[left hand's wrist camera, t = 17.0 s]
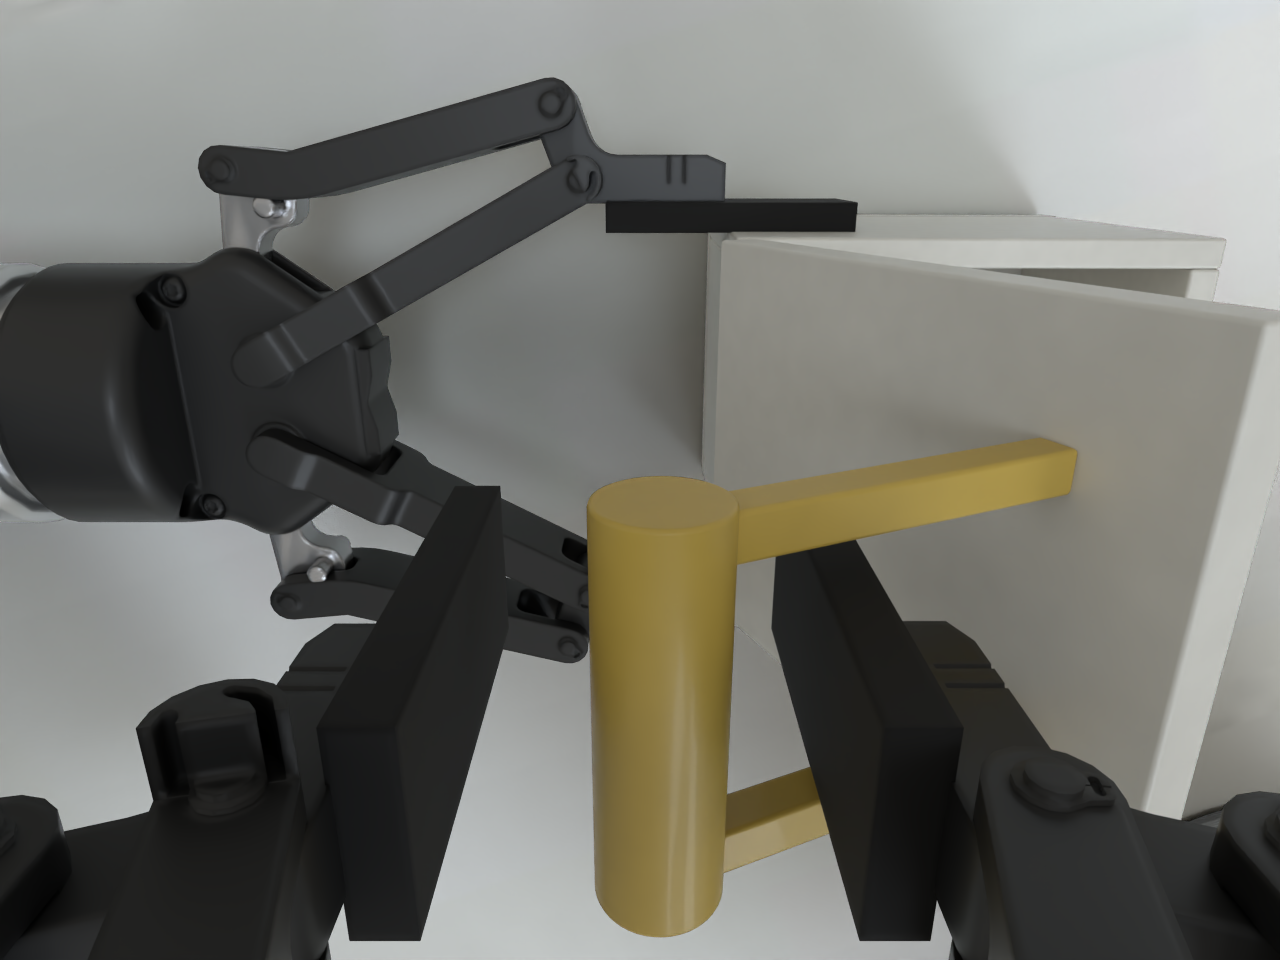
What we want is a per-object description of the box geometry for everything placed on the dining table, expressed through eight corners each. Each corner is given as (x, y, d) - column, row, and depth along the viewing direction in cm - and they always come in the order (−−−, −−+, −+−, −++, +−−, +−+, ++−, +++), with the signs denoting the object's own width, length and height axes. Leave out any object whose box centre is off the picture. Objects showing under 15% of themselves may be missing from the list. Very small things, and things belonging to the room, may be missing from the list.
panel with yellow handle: (1323, 315, 10) (699, 386, 7) (1152, 934, 13) (678, 1184, 10) (756, 238, 20) (405, 252, 17) (739, 595, 23) (443, 662, 20)
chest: (1041, 214, 30) (1229, 238, 20) (1002, 467, 33) (1147, 592, 24) (708, 214, 30) (735, 237, 20) (701, 465, 34) (722, 589, 24)
